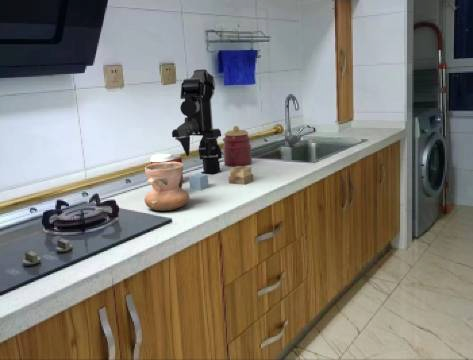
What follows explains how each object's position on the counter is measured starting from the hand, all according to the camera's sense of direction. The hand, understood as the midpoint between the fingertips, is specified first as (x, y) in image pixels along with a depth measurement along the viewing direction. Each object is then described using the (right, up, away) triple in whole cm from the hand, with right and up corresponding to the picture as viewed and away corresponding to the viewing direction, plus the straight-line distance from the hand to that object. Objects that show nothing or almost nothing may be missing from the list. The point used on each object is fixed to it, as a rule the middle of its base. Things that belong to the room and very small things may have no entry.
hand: (197, 156), depth 184 cm
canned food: (-11, -10, +13) cm, 20 cm away
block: (0, -12, +3) cm, 12 cm away
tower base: (+16, -10, +9) cm, 21 cm away
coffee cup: (-11, -15, -7) cm, 20 cm away
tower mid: (+16, -7, +8) cm, 19 cm away
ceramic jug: (-8, -18, -21) cm, 29 cm away
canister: (+15, -2, +45) cm, 48 cm away
